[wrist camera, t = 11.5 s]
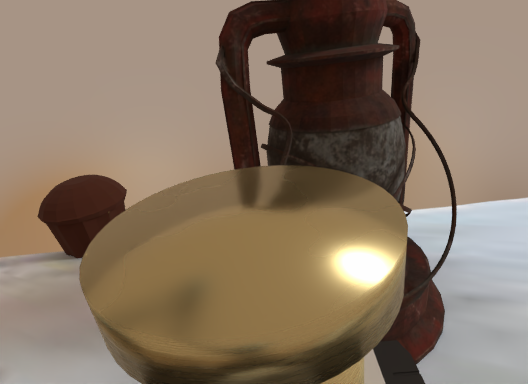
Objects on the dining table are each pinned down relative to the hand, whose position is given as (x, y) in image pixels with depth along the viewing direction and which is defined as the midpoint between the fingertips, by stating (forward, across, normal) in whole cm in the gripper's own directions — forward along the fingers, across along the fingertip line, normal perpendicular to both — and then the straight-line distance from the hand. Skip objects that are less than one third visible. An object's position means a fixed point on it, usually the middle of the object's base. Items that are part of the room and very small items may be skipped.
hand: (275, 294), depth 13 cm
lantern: (+15, +5, -14) cm, 21 cm away
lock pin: (-5, 0, -8) cm, 9 cm away
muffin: (+31, -28, -14) cm, 44 cm away
